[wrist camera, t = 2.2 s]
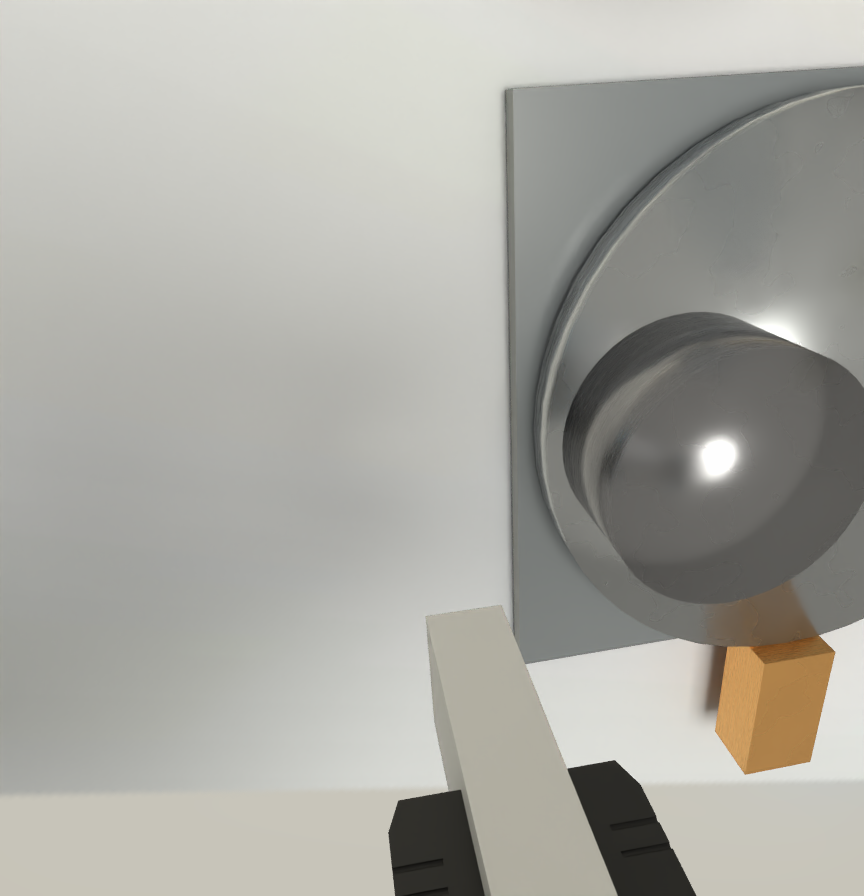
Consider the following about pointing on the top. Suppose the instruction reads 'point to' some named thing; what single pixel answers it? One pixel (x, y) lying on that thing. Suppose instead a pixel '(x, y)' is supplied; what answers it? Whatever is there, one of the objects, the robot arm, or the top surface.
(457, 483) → the top surface
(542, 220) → the base plate
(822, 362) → the dark grey bowl
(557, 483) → the turntable
